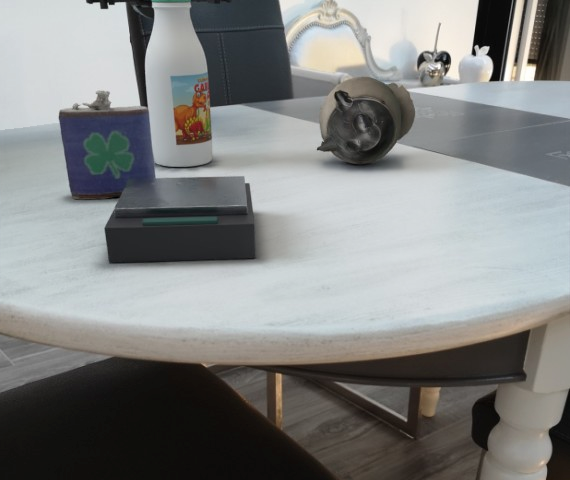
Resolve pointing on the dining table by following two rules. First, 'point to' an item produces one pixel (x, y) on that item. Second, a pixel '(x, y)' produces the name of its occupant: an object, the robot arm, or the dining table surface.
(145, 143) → the flask
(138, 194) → the scale platform
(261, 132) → the dining table surface
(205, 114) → the milk bottle
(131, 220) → the scale
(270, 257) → the dining table surface
